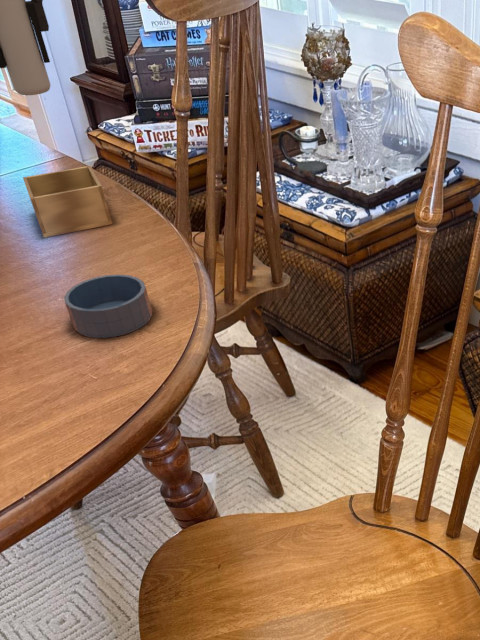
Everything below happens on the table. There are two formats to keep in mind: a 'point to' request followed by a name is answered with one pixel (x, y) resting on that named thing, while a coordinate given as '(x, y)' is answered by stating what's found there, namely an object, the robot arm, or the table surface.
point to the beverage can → (21, 49)
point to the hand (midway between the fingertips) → (24, 62)
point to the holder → (68, 201)
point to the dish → (108, 306)
